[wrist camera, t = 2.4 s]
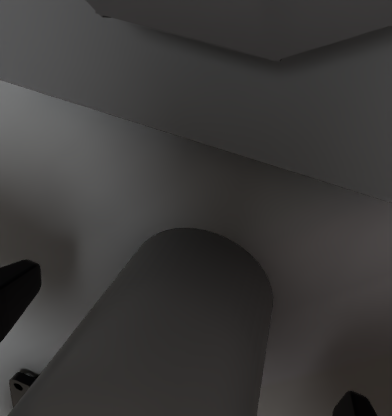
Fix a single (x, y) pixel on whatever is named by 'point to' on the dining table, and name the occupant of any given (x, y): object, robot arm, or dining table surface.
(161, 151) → the dining table surface
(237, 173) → the dining table surface
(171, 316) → the grey cylinder
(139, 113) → the grey notched ring
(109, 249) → the dining table surface
